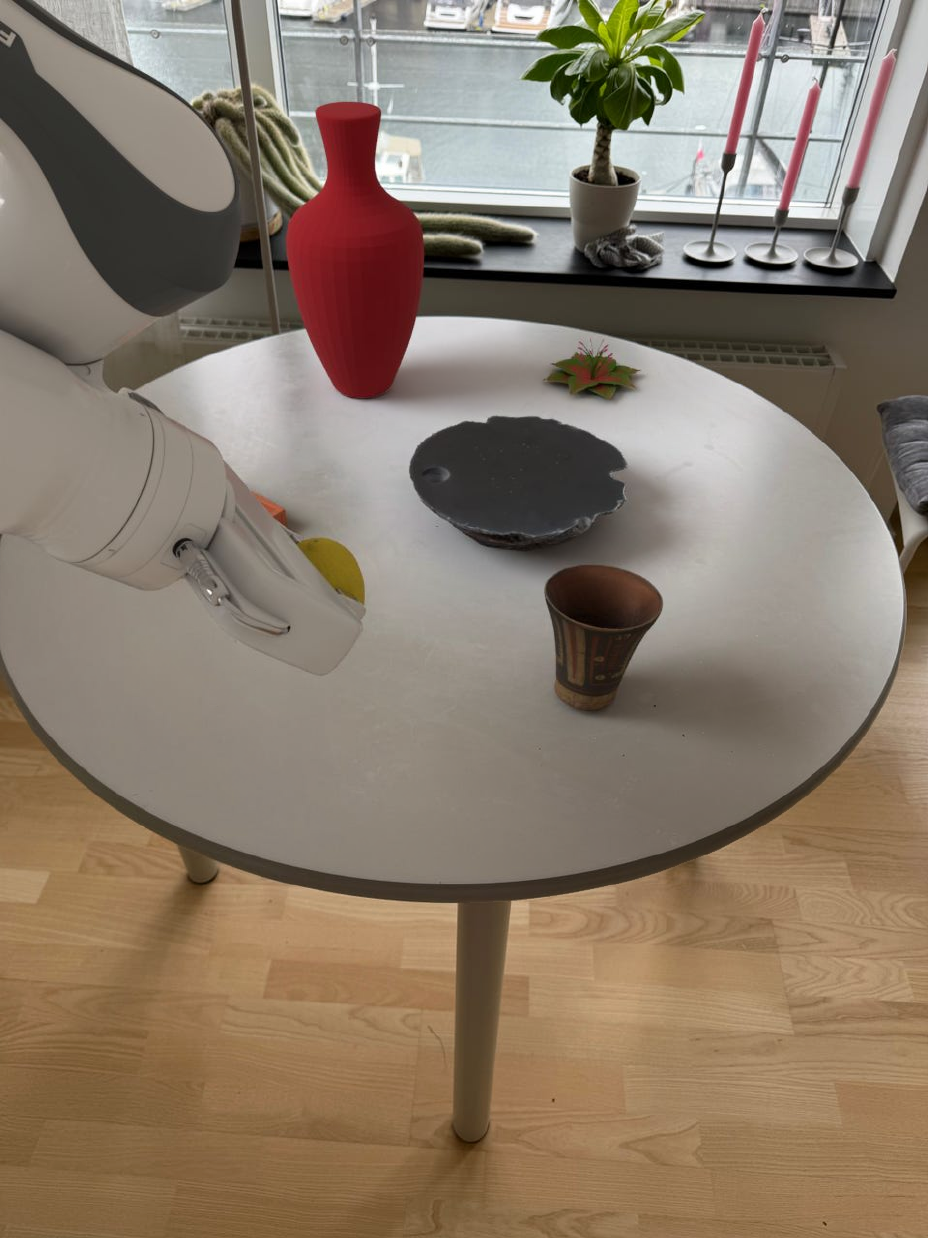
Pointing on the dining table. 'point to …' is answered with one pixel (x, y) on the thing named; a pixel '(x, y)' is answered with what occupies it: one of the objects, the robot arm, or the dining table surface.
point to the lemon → (335, 565)
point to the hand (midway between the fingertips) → (328, 583)
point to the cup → (597, 629)
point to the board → (518, 480)
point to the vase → (356, 259)
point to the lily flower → (592, 373)
